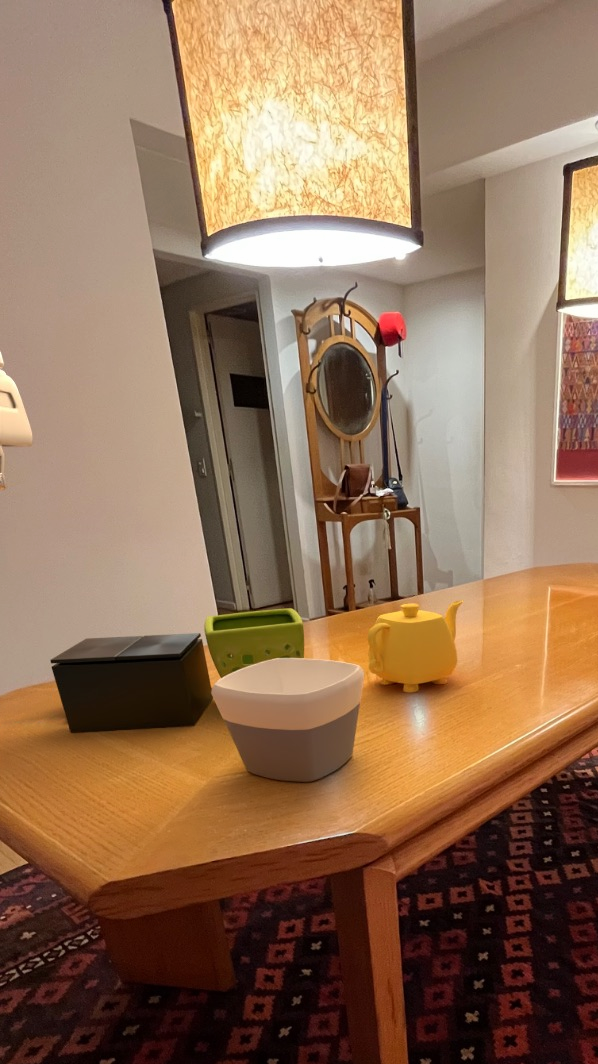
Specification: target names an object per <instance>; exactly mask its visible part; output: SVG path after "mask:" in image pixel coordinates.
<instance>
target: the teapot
mask: <svg viewBox="0 0 598 1064" xmlns="http://www.w3.org/2000/svg"><path fill="white" fill-rule="evenodd" d="M463 602H464V600H462V599H461V600H456V601H453V602H452V603H451V604H450V605H448V608H447V609H446V612H445V615H442V614H441V613H437V612H433V611H427V610H420V609H419V608H420V604H418V603H405V604H401V605H400V608H401V610H399V611H393V612H388V613H384V614H380V615H379V616H378V617H377V619H376V621H375V623H374V625H373V626H372V627H371V628H370V629H368V633H367V644H368V671H369V672H370V673H371V674H373V675H376V676H378V677H379V678H381V681H380V684H381V685H384V686H385V685H393V684H395V683H398V684H403V686H402V687H403V688H402V691H403V692H405V693H416V692H418V691H419V684H424V683H428V682H431V683H432V684H434V685H445V684H448V679H446V678H447V677H450V676H451V675H452V674H453V672H454V671H455V669H456V667H457V665H458V653H457V645H456V642H455V640H456V635H457V625H456V624H457V622H456V618H457V612H458V610H459V607H460V606H461V605H462V604H463Z"/></svg>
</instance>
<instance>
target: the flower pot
mask: <svg viewBox="0 0 598 1064" xmlns="http://www.w3.org/2000/svg"><path fill="white" fill-rule="evenodd" d="M203 626H204V627H203V628H204V635H205V640H206V644H207V647H208V650H209V654H210V657H211V660H212V662H213V664H214V667H215V669H216V672H218V675H219V677H220V679H221V678H223V677H224V676H226V675H228V674H231V673H233V672H235V671H237V670H240V669H242V668H245V667H248V666H251V665H254V664H257V663H260V662H263V661H268V660H272V659H276V658H305V629H304V622H303V619H302V617H301V616H300V614H299V612H298V611H296V610H295V609H293V608H292V607H291V608H290V607H289V608H279V609H278V608H277V609H265V610H256V611H245V612H236V613H226V614H219V615H211V616H210V615H209V616H207V617H206V618H205V620H204V625H203Z"/></svg>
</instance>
